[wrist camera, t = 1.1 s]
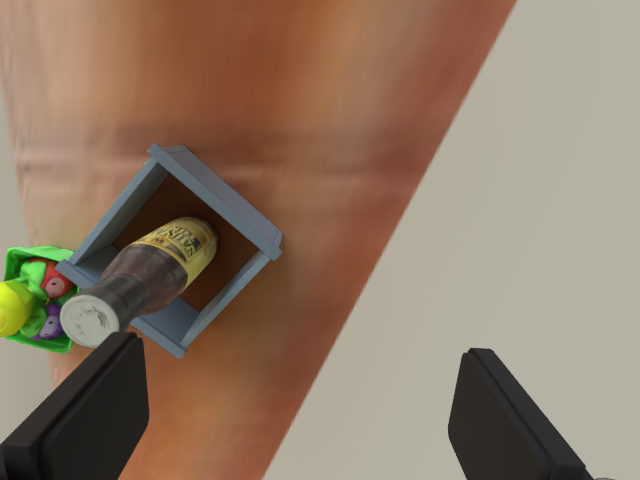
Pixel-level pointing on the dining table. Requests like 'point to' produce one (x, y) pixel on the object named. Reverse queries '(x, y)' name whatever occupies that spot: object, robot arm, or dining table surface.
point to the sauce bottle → (140, 280)
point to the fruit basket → (35, 298)
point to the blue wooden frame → (96, 250)
